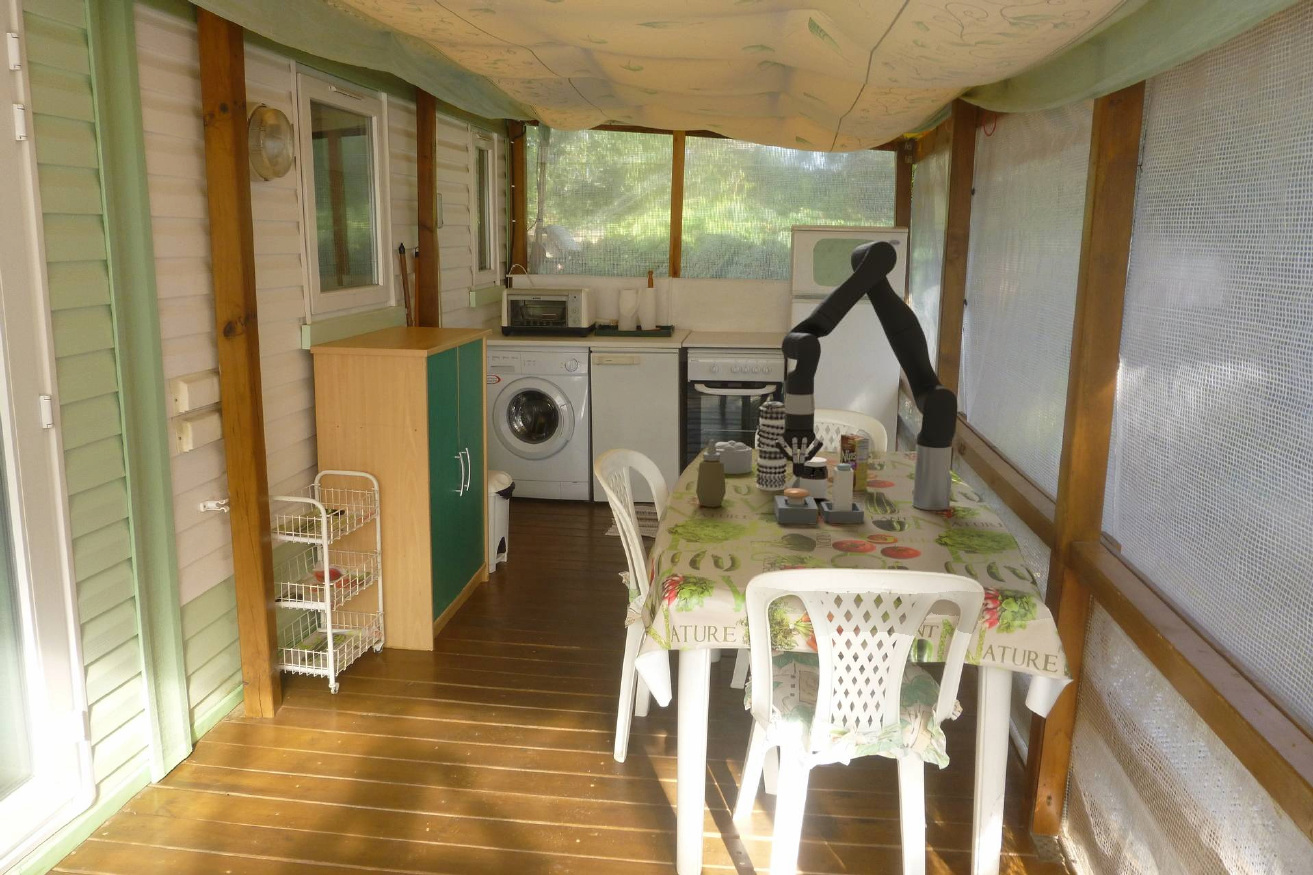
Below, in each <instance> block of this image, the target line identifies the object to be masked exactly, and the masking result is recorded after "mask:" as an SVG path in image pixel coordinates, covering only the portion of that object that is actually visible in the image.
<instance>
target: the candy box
mask: <svg viewBox="0 0 1313 875" xmlns="http://www.w3.org/2000/svg"><path fill="white" fill-rule="evenodd" d="M869 440H870V439H869V438H866V437H863V436H860V435H857V434H854V433H842V434H840V452H839V453H840V454H839V455H840V457H839V464H840V463H845V464H850V465H851V468H852V470H853V471H854V472H853V491H856V492H857V491H866V490H867V486H868V467H869V466H868V463H869V442H870V441H869Z"/></svg>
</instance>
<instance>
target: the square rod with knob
mask: <svg viewBox="0 0 1313 875" xmlns="http://www.w3.org/2000/svg"><path fill="white" fill-rule="evenodd" d="M853 472H854V471H853V470H852V468H851V465H850V464H845V463H840V462H839V463H836V467H835V466H834V468H833V479H832V480H833V482H832V483H833V484H832V485H833V486H832V501H831V502H832V510H836V511H852V502H853V491H854V490H853Z"/></svg>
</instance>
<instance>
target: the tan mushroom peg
mask: <svg viewBox="0 0 1313 875" xmlns="http://www.w3.org/2000/svg"><path fill="white" fill-rule="evenodd" d="M783 496H786V497H788V501H787V505H804V501H805V497H808V496H809V491H807V490H804V489H797V488H791V489H787V488H785V489H783Z"/></svg>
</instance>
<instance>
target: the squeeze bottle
mask: <svg viewBox="0 0 1313 875" xmlns="http://www.w3.org/2000/svg"><path fill="white" fill-rule="evenodd" d="M715 444H716V442H715V439H710V440H709V442H708V446H707V450H706V451H705V452H703V453H702V460H701V461H699V466H698V473H697V482H696V488H695V489H696V490H695V494H696V496H697V500H698V503H699V505H700V506H703V507H705V506H706V508H707V507H708V508H715V507H720V506H722V504H723V501H724V499H725V496H726V492H727V491H726V479H725V473H724V463H723V462H722V461H720V453H718V452H716V447H715Z"/></svg>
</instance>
